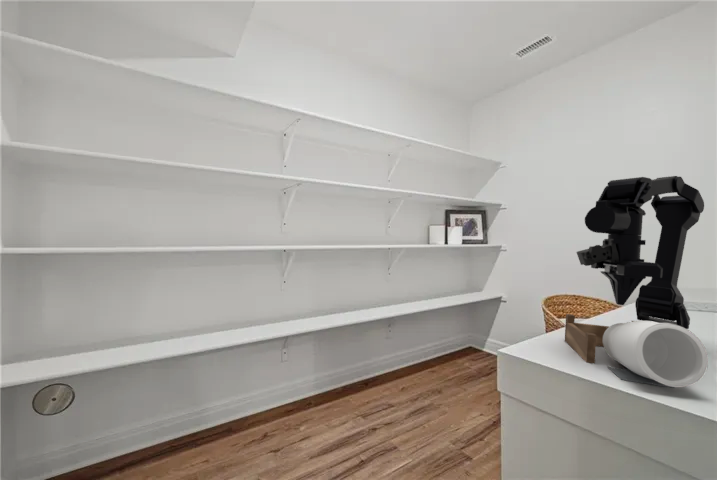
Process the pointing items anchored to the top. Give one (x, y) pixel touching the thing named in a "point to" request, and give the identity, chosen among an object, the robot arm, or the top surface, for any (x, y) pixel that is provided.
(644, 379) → the plate
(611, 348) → the jar
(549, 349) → the top surface
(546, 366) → the top surface
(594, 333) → the low open wooden frame
